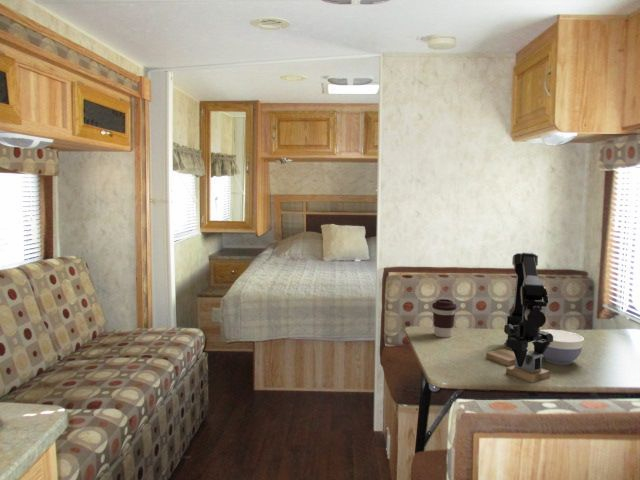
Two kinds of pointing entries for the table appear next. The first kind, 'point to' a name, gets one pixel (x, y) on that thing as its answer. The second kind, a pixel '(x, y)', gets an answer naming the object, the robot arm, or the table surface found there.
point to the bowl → (563, 347)
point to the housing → (531, 362)
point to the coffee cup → (443, 317)
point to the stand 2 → (527, 374)
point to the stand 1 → (502, 356)
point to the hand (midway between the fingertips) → (528, 364)
